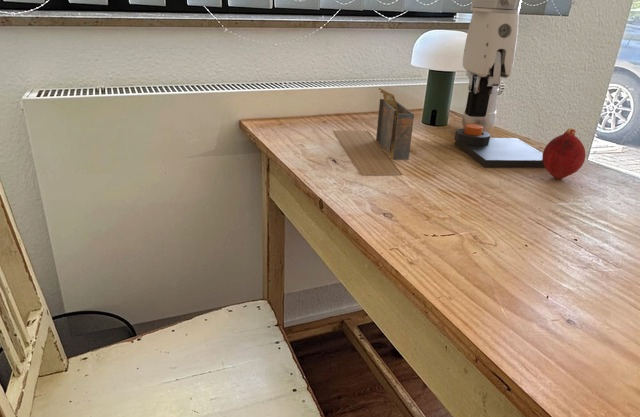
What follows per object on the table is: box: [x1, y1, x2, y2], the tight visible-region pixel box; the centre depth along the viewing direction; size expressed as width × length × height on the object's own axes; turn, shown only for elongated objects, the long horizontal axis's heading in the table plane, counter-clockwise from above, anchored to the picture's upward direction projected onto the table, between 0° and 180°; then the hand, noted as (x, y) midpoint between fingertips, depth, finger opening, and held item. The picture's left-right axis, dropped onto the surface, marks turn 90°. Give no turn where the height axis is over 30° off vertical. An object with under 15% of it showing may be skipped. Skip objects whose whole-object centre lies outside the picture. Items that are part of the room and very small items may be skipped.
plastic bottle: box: [461, 73, 503, 134], centre depth 95 cm, size 6×7×20 cm
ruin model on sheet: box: [332, 87, 415, 176], centre depth 84 cm, size 25×16×10 cm, turn 8°
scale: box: [453, 127, 546, 169], centre depth 85 cm, size 13×14×3 cm
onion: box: [542, 127, 586, 180], centre depth 74 cm, size 6×6×8 cm
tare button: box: [464, 124, 483, 136], centre depth 87 cm, size 3×3×2 cm
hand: (475, 115), depth 86 cm, fingers closed
